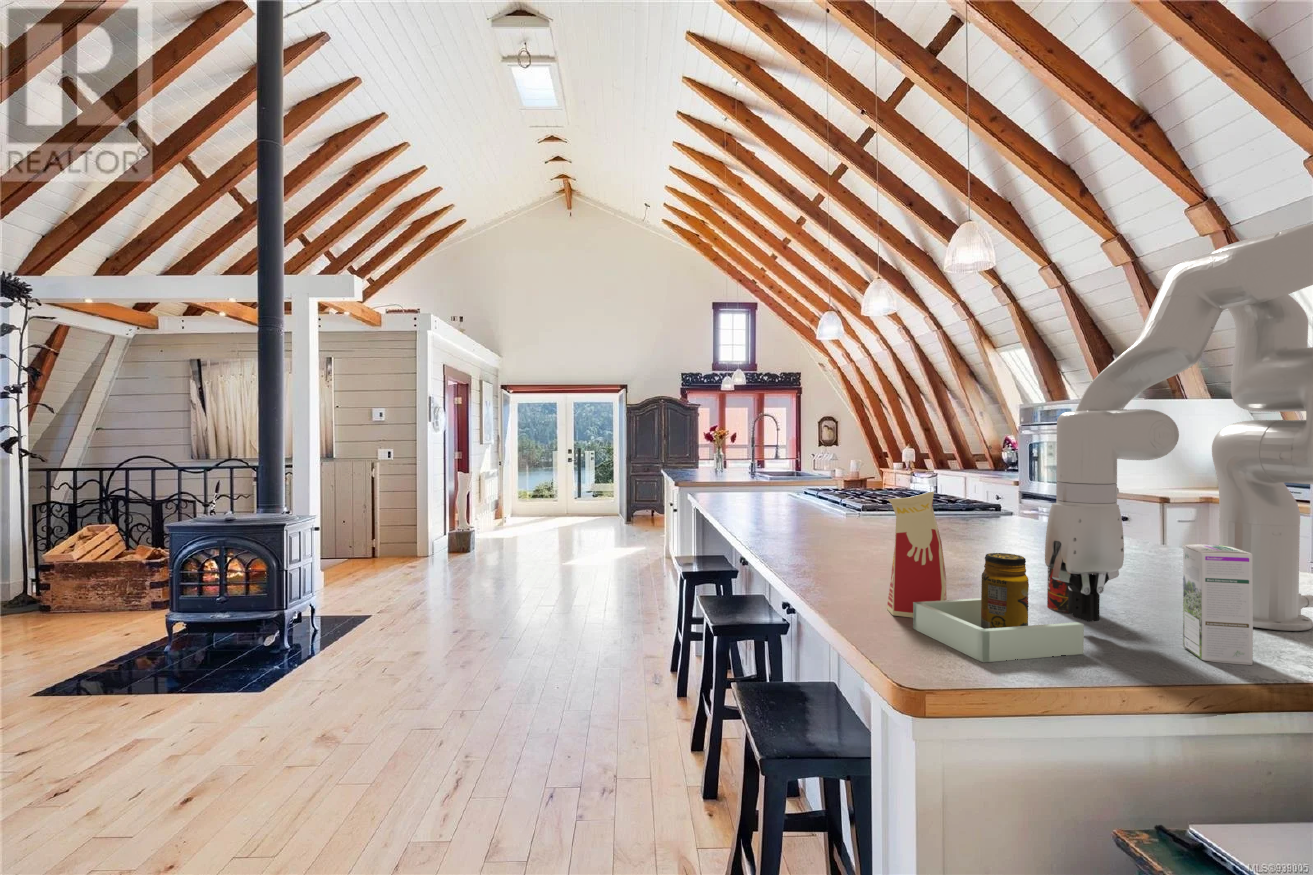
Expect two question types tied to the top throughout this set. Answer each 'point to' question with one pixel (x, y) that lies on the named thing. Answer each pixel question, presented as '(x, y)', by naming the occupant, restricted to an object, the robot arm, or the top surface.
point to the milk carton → (916, 556)
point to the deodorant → (1058, 595)
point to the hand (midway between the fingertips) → (1085, 618)
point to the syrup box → (1218, 603)
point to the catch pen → (993, 633)
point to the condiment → (1004, 591)
